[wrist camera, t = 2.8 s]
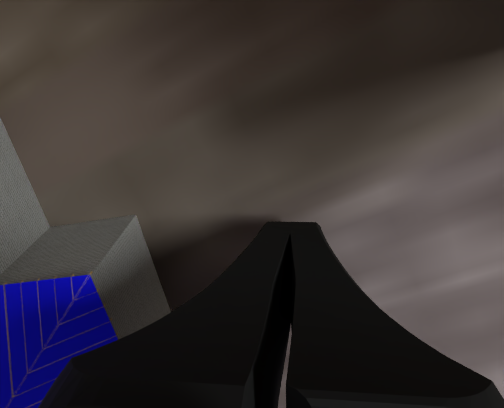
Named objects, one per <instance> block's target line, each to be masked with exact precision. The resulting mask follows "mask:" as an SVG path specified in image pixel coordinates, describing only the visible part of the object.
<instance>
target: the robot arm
mask: <svg viewBox="0 0 504 408" xmlns="http://www.w3.org/2000/svg"><path fill="white" fill-rule="evenodd" d="M290 325H291V328H292V337H291V347H290V356H289V364H288V373H287V380H286V408H504V399H503V397H502V396H501V394H500V393H499V391H498V389H497V388H496V386H495V385H494V383H493V382H492V381H491V380H489V379H487V378H486V377H484V376H482V375H480V374H478V373H476V372H474V371H473V370H471V369H469V368H467V367H465V366H463V365H461V364H459V363H458V362H456V361H454V360H452V359H450V358H448V357H446V356H445V355H443V354H441V353H440V352H438V351H437V350H435V349H434V348H432V347H431V346H429V345H427V344H426V343H424V342H423V341H421V340H420V339H418V338H417V337H415V336H414V335H413V334H411V333H410V332H408V331H407V330H406V329H404V328H403V327H402V326H401V325H399V324H398V323H397V322H396V321H394V320H393V319H392V318H390V317H389V316H388V315H387V314H386V313H384V312H383V311H382V310H381V309H380V308H379V307H378V306H377V305H376V304H375V303H374V302H373V301H372V300H371V299H370V298H369V297H368V296H367V295H366V294H365V293H364V292H363V291H362V290H361V288H360V287H359V286H358V285H357V284H356V283H355V281H354V280H353V279H352V278H351V276H350V275H349V274H348V273H347V271H346V270H345V269H344V267H343V266H342V264H341V263H340V262H339V260H338V259H337V257H336V256H335V254H334V253H333V251H332V249H331V248H330V246H329V244H328V242H327V241H326V239H325V237H324V235H323V232H322V230H321V227H320V226H319V225H318V224H317V223H316V222H267V223H266V224H265V225H264V226H263V228H262V229H261V230H260V232H259V233H258V234H257V236H256V237H255V238H254V240H253V241H252V242H251V243H250V244H249V246H248V247H247V248H246V249H245V250H244V251H243V253H242V254H241V255H240V256H239V257H238V258H237V259H236V260H235V261H234V263H233V264H232V265H231V266H230V267H229V268H227V269H226V270H225V271H224V272H223V273H222V274H221V275H220V276H219V277H218V278H217V279H216V280H215V281H214V282H213V283H212V284H210V285H209V286H208V287H207V288H206V289H204V290H203V291H202V292H201V293H199V294H198V295H197V296H195V297H194V298H192V299H191V300H190V301H188V302H186V303H185V304H183V305H182V306H180V307H179V308H177V309H175V310H174V311H172V312H171V313H169V314H167V315H166V316H164V317H163V318H161V319H159V320H157V321H155V322H153V323H152V324H150V325H148V326H146V327H144V328H142V329H140V330H138V331H136V332H134V333H132V334H130V335H128V336H125V337H123V338H121V339H119V340H116V341H114V342H111V343H109V344H106V345H104V346H101V347H99V348H96V349H94V350H91V351H89V352H86V353H84V354H81V355H78V356H75V357H72V358H71V359H70V361H69V362H68V363H67V365H66V366H65V367H64V369H63V370H62V372H61V373H60V374H59V376H58V377H57V378H56V380H55V381H54V383H53V384H52V386H51V388H50V389H49V391H48V392H47V394H46V395H45V397H44V399H43V400H42V402H41V403H40V405H39V407H38V408H278V400H279V393H280V387H281V381H282V374H283V368H284V362H285V356H286V350H287V344H288V338H289V331H290Z"/></svg>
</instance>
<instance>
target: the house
mask: <svg viewBox="0 0 504 408" xmlns="http://www.w3.org/2000/svg"><path fill="white" fill-rule="evenodd" d="M169 313H171V311H170V308H169V305H168V302H167V300H166V297H165V294H164V291H163V289H162V286H161V283H160V280H159V277H158V275H157V272H156V269H155V266H154V264H153V261H152V258H151V255H150V252H149V250H148V247H147V244H146V241H145V239H144V236H143V233H142V230H141V227H140V225H139V222H138V219H137V216H136V215H130V216H123V217H117V218H110V219H103V220H96V221H89V222H82V223H75V224H68V225H61V226H55V227H50V226H49V224H48V221H47V219H46V217H45V215H44V213H43V210H42V208H41V206H40V204H39V202H38V199H37V197H36V195H35V193H34V191H33V189H32V186H31V184H30V182H29V180H28V178H27V175H26V173H25V171H24V169H23V167H22V164H21V162H20V160H19V158H18V156H17V153H16V151H15V149H14V147H13V145H12V142H11V140H10V138H9V136H8V134H7V131H6V129H5V127H4V125H3V123H2V120H1V118H0V408H38V407H39V405H40V403H41V402H42V400H43V399H44V397H45V395H46V394H47V392H48V391H49V389H50V388H51V386H52V384H53V383H54V381H55V380H56V378H57V377H58V376H59V374H60V373H61V372H62V370H63V369H64V367H65V366H66V365H67V363H68V362H69V361H70V359H71V358H72V357H75V356H78V355H81V354H84V353H86V352H89V351H91V350H94V349H96V348H99V347H101V346H104V345H106V344H109V343H111V342H114V341H116V340H119V339H121V338H123V337H125V336H128V335H130V334H132V333H134V332H136V331H138V330H140V329H142V328H144V327H146V326H148V325H150V324H152V323H153V322H155V321H157V320H159V319H161V318H163V317H164V316H166V315H167V314H169Z"/></svg>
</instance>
